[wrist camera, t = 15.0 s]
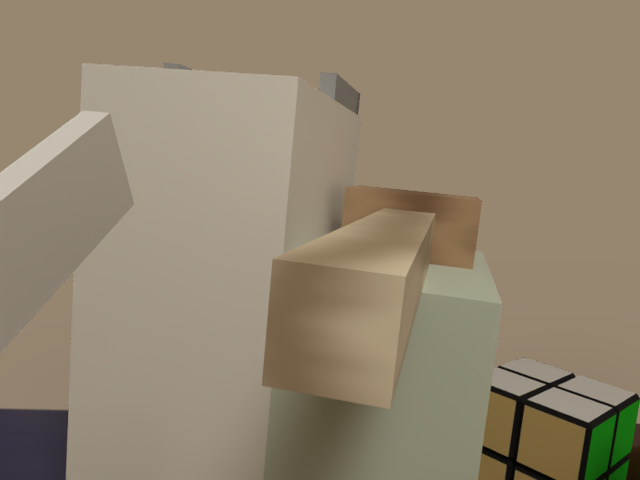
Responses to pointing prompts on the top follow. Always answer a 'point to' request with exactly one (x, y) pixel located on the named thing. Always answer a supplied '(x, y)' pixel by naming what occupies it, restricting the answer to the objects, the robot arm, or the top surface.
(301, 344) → the mallet
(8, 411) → the top surface
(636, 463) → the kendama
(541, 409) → the puzzle cube
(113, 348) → the stepped plinth
